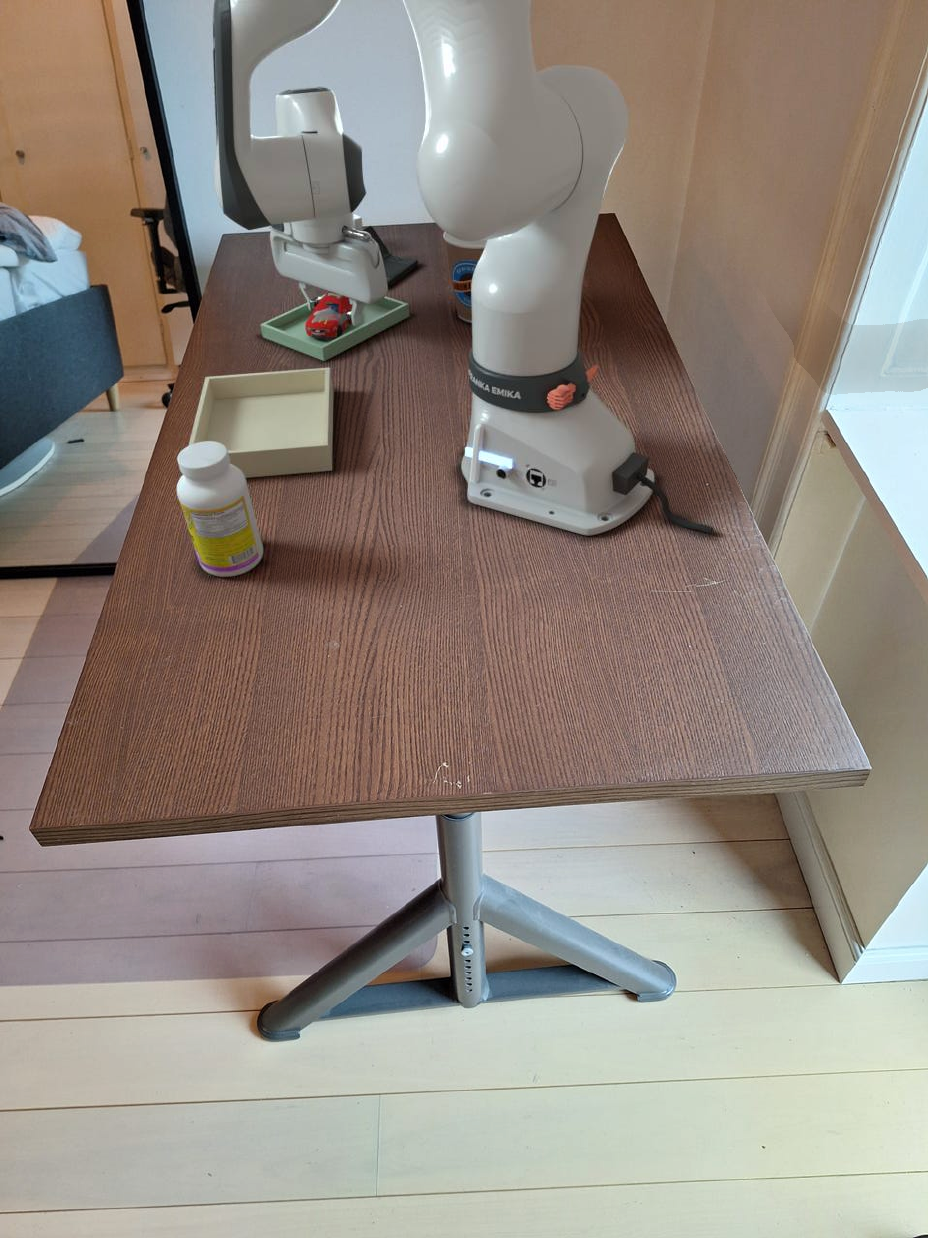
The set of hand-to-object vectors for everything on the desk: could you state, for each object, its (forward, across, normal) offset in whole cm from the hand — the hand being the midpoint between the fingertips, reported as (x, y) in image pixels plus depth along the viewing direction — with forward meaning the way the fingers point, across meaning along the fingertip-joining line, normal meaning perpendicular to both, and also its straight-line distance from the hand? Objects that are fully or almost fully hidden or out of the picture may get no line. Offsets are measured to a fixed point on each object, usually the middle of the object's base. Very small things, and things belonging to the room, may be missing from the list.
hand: (335, 316), depth 128 cm
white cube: (+2, +21, -22) cm, 31 cm away
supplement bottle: (+2, -31, +46) cm, 55 cm away
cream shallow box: (+2, -15, +27) cm, 31 cm away
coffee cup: (+2, -15, -16) cm, 22 cm away
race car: (+1, 0, 0) cm, 1 cm away
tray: (+2, 0, 0) cm, 2 cm away
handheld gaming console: (+2, +9, -19) cm, 21 cm away
